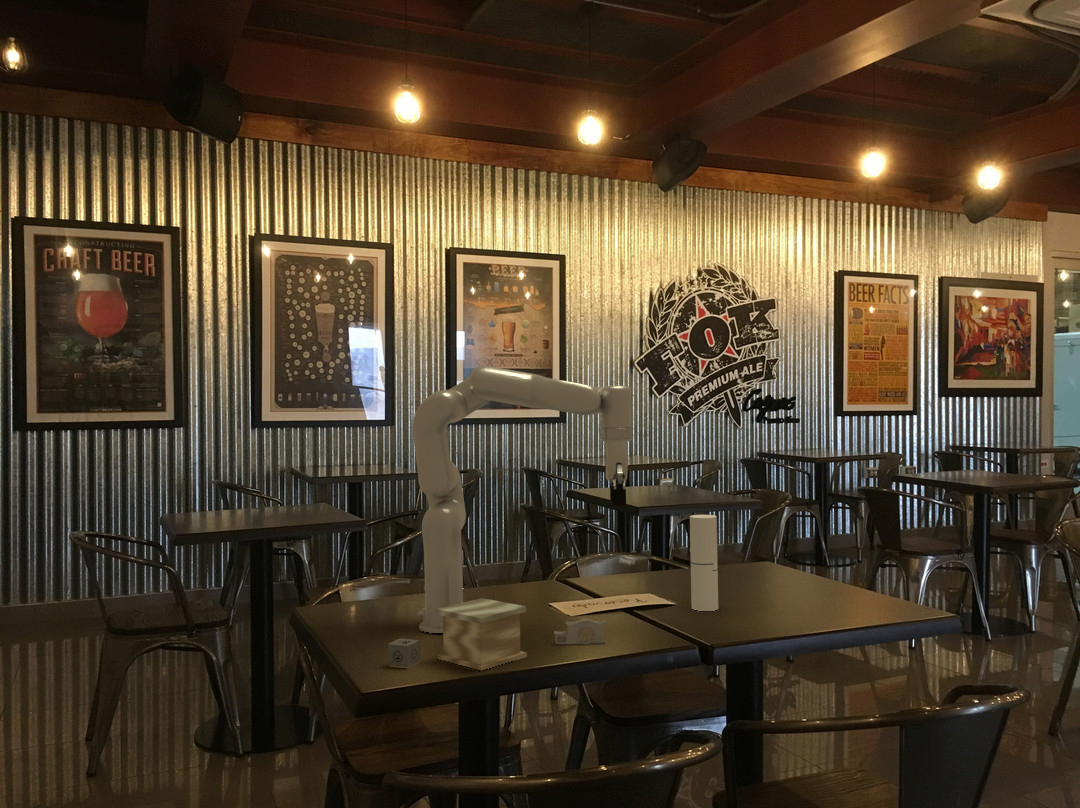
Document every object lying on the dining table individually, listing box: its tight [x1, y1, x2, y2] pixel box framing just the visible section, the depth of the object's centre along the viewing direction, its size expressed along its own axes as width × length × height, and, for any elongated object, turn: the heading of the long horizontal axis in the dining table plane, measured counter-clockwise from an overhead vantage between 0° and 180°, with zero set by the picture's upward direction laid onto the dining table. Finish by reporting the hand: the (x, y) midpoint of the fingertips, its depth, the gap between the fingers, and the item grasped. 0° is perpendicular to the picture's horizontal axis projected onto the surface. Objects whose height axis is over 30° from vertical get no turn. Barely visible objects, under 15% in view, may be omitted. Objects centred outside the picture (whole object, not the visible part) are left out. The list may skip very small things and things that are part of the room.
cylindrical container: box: [689, 514, 719, 612], centre depth 242 cm, size 7×7×25 cm
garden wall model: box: [553, 617, 606, 645], centre depth 209 cm, size 12×2×6 cm, turn 92°
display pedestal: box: [436, 597, 528, 672], centre depth 198 cm, size 14×14×11 cm
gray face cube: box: [387, 638, 421, 667], centre depth 194 cm, size 5×5×5 cm
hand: (618, 503), depth 224 cm, fingers open, 9 cm apart
